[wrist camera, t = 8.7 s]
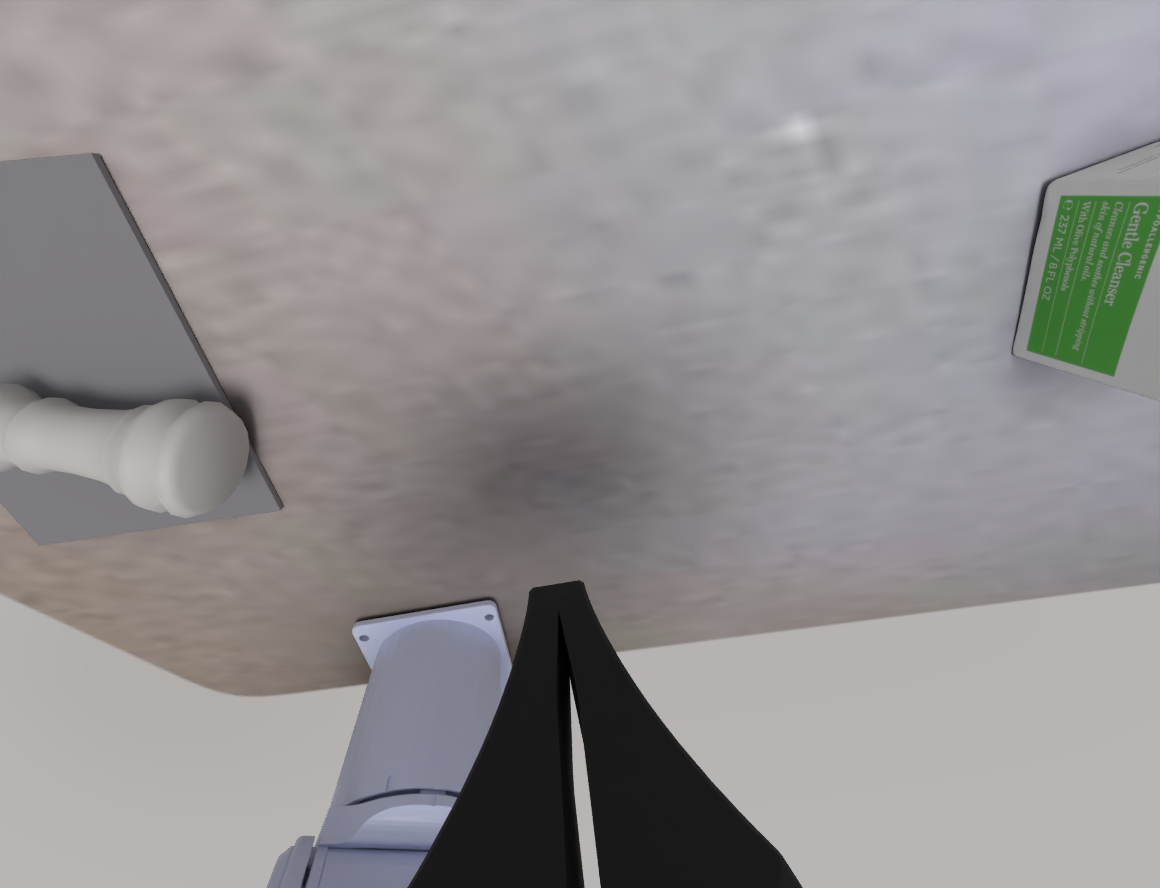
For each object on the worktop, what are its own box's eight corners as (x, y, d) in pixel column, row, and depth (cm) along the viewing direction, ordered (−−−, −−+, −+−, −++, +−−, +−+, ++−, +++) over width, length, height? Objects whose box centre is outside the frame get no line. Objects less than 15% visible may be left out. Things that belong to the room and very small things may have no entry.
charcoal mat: (283, 506, 21) (280, 510, 21) (45, 541, 20) (39, 545, 20) (99, 154, 14) (91, 153, 14) (-271, 187, 13) (-287, 187, 13)
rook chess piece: (146, 489, 14) (-168, 445, 13) (216, 537, 17) (-21, 506, 16) (219, 378, 16) (-39, 333, 15) (267, 441, 20) (63, 408, 19)
